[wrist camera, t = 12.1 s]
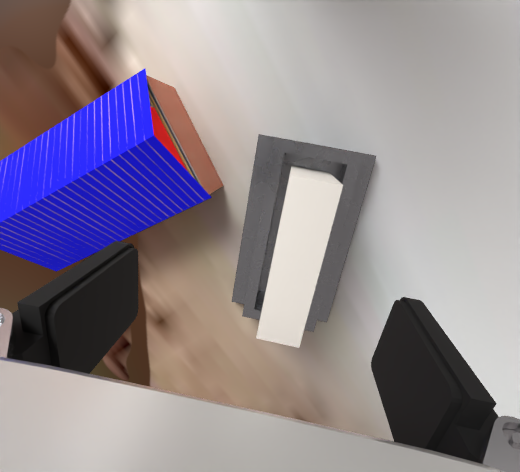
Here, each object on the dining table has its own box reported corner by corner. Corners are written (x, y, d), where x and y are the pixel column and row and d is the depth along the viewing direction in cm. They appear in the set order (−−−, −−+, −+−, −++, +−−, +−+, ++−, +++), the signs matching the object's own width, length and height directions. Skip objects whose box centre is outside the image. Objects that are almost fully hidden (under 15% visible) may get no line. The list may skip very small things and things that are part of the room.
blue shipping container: (227, 186, 33) (193, 209, 22) (96, 249, 38) (14, 294, 27) (176, 83, 30) (108, 50, 19) (41, 165, 35) (-76, 176, 24)
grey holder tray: (260, 134, 31) (255, 133, 27) (372, 155, 30) (383, 157, 26) (234, 295, 37) (227, 312, 33) (325, 315, 37) (329, 335, 33)
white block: (291, 165, 30) (289, 175, 21) (329, 172, 30) (343, 185, 21) (265, 290, 35) (256, 338, 26) (298, 297, 35) (299, 348, 26)
